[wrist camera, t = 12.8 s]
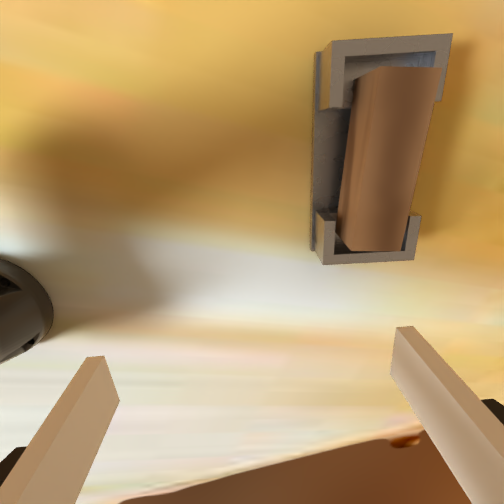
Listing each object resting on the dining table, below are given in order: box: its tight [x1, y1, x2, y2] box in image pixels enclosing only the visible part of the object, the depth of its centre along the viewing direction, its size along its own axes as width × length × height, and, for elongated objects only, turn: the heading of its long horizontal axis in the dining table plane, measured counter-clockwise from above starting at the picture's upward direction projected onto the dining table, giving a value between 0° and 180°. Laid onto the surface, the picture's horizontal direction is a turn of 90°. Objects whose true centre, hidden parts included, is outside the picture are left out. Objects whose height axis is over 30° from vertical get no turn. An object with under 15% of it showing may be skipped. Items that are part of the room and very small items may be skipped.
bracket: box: [310, 33, 453, 265], centre depth 32 cm, size 11×22×6 cm, turn 3°
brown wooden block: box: [335, 66, 442, 251], centre depth 29 cm, size 5×16×6 cm, turn 179°
